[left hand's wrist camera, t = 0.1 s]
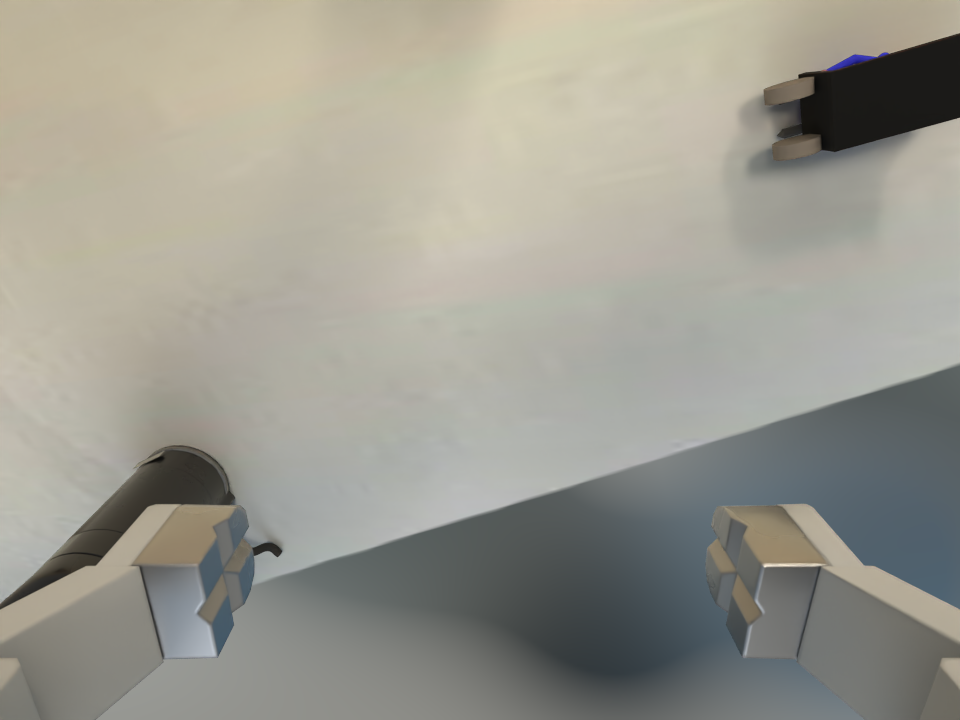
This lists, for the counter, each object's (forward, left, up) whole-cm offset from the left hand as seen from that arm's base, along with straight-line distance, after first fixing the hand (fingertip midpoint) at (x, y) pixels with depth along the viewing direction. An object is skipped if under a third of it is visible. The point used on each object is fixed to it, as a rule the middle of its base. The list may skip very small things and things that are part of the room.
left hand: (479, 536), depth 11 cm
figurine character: (-9, +31, -48) cm, 58 cm away
